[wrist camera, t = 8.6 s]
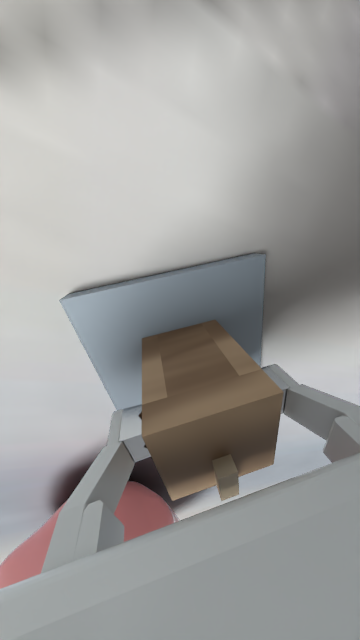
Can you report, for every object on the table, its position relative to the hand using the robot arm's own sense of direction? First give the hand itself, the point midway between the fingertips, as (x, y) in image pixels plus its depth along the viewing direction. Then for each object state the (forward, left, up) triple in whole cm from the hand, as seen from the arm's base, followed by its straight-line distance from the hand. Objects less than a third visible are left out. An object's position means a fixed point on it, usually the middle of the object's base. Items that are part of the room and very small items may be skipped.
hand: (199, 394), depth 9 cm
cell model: (+18, -12, -5) cm, 22 cm away
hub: (0, 0, -4) cm, 5 cm away
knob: (0, 0, -3) cm, 3 cm away
